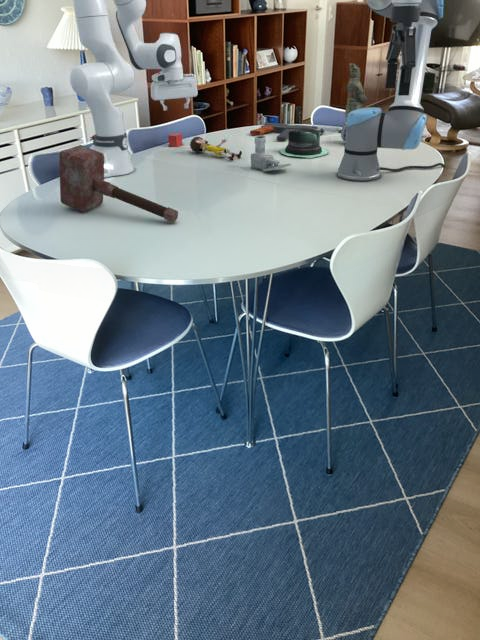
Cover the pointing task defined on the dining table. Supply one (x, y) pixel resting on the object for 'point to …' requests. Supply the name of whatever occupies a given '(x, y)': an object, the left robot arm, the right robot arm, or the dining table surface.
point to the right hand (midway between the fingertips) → (396, 91)
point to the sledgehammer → (96, 184)
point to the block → (175, 139)
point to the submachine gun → (280, 129)
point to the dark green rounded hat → (304, 143)
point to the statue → (354, 91)
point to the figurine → (212, 148)
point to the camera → (264, 157)
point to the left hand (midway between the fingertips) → (176, 109)
